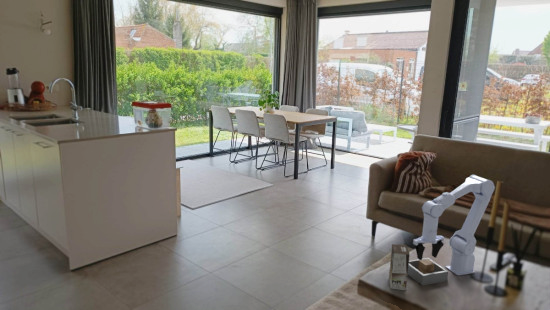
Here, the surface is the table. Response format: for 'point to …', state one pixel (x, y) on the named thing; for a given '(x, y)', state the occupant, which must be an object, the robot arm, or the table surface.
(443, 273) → the gray bin
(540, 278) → the table surface
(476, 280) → the table surface
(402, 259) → the coffee box
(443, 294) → the table surface
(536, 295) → the table surface
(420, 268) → the tan block
